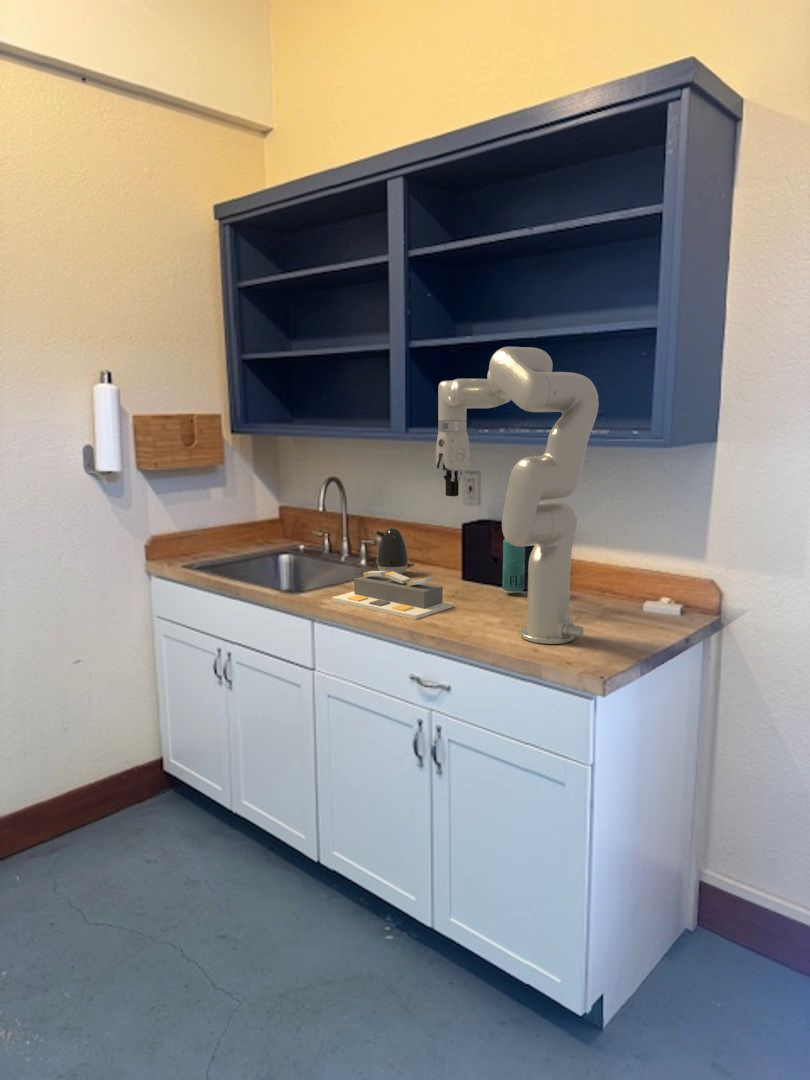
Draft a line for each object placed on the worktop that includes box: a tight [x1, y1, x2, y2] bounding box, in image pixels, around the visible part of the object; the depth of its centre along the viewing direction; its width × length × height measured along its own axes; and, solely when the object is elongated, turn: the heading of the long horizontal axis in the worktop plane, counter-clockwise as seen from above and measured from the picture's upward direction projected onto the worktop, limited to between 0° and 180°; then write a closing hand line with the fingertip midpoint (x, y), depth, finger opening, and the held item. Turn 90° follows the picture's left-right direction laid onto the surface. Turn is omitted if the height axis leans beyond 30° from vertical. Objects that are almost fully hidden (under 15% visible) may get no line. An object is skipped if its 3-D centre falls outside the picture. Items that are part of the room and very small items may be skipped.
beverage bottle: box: [501, 538, 526, 593], centre depth 215 cm, size 6×7×20 cm
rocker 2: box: [407, 576, 434, 586], centre depth 202 cm, size 6×3×1 cm, turn 50°
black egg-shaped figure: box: [375, 527, 409, 575], centre depth 241 cm, size 10×10×15 cm
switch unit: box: [331, 575, 454, 620], centre depth 206 cm, size 30×16×6 cm, turn 50°
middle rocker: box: [384, 571, 411, 584], centre depth 207 cm, size 6×3×1 cm, turn 50°
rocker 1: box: [363, 570, 388, 576], centre depth 212 cm, size 6×3×1 cm, turn 50°
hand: (452, 495), depth 206 cm, fingers closed
